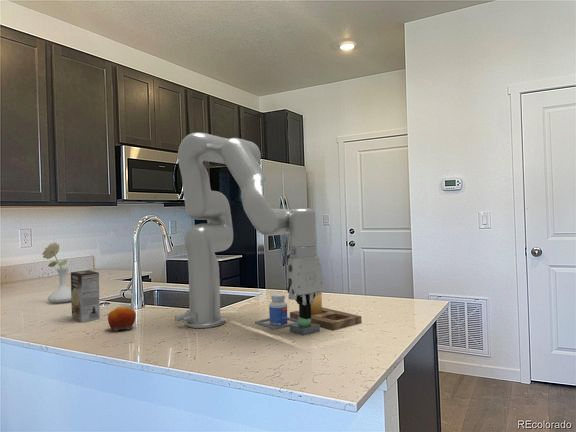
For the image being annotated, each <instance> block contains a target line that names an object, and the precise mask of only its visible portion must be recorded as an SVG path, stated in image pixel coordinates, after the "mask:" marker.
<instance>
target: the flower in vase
mask: <svg viewBox="0 0 576 432" xmlns="http://www.w3.org/2000/svg"><path fill="white" fill-rule="evenodd" d="M59 250H60V244H59V243H58V242H55V241H54V242H51V243H50V244H48V245H47V247H45V248H44V251H43V252H42V258H43V259H46V260H50V259H52V258H53V257H55V260H56V261H55V260H54V261H53V260H52V261H51V262H49V264H48V266H47V267H49V268H51V267H52V268H53V267H55V266H56V265H58V266H59V267H58V268H55V271H56V272H57V273H58V277H59V278H58V279H59V286H58V287H57V288H56V290H54V291H53V292H52V293H51V294H50V295H49V296H48V297H47V301H49V302H51V303H67V302H71V287H70V288H69V286H68V285H67V282H66V281H67V272H68V271H69V269H70V267H62V266H65V265H67V263H68V259H64V260H63V261H58V258H57V254H58V253H59V252H60V251H59Z"/></svg>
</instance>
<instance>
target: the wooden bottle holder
mask: <svg viewBox="0 0 576 432" xmlns="http://www.w3.org/2000/svg"><path fill="white" fill-rule="evenodd" d="M298 317H300V315H299V309H298V310H294V311H289V318H292V319H296V320H298ZM311 322H312V323H315V324H319V325H320V329H326V330H329V331H338V330H340V329H344V328H348V327H351V326H356V325H359V324H362V315H357V314H354V313H350V312H349V313H348V312H345V311H341V310H335V309H330V308H327V307H323V306H322V313H321V314H316V315H311Z"/></svg>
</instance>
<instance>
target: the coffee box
mask: <svg viewBox="0 0 576 432" xmlns="http://www.w3.org/2000/svg"><path fill="white" fill-rule="evenodd" d="M70 289H71V301H70V302H71V318H72V320H74V321H76V322H80V323H85V322H92V321H97V320H100V319H101V318H100V317H101V311H100V310H101V309H100V308H101V307H100V306H101V305H100V272H99V271H98V272H97V271H95V270H94V271H93V270H80V271H73V272H70Z"/></svg>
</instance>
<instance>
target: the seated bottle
mask: <svg viewBox="0 0 576 432" xmlns="http://www.w3.org/2000/svg"><path fill="white" fill-rule="evenodd" d="M322 291H323V290H322ZM322 291H320V294H319V295H317V296H315V297H314V299H313V303H312V304H311V315H316V314H321V313H322V307H323V301H322V299H323V297H322V296H323V295H322Z"/></svg>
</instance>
